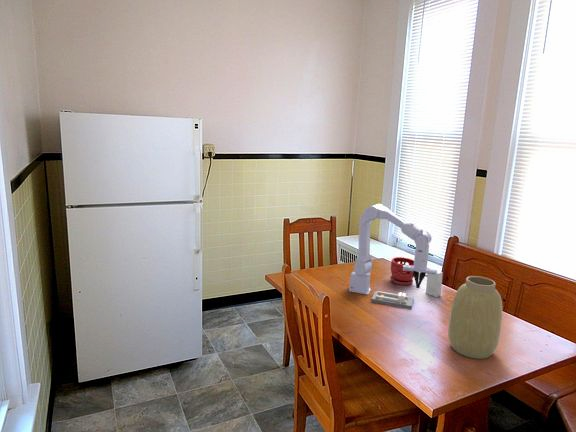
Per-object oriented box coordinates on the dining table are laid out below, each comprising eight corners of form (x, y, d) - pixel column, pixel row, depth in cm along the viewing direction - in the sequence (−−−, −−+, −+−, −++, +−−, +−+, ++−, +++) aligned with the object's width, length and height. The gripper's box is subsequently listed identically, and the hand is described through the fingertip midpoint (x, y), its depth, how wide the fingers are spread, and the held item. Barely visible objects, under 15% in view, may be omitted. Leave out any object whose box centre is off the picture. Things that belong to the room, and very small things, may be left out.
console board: (371, 301, 191) (371, 296, 190) (375, 294, 200) (375, 289, 199) (411, 309, 184) (411, 304, 184) (413, 301, 193) (414, 296, 193)
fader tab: (397, 300, 189) (398, 294, 188) (398, 297, 192) (399, 291, 192) (404, 301, 188) (405, 296, 187) (405, 298, 191) (406, 293, 191)
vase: (503, 350, 152) (515, 282, 146) (485, 368, 140) (496, 294, 134) (458, 333, 164) (467, 269, 158) (437, 347, 152) (446, 279, 146)
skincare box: (441, 295, 201) (443, 272, 199) (436, 297, 198) (438, 273, 196) (429, 291, 206) (432, 268, 203) (424, 293, 203) (427, 270, 201)
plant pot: (389, 285, 212) (391, 263, 210) (389, 276, 225) (391, 255, 222) (415, 288, 209) (418, 266, 207) (413, 279, 222) (416, 258, 219)
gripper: (403, 258, 182) (400, 287, 185) (437, 264, 177) (434, 293, 180) (405, 254, 189) (402, 282, 192) (438, 259, 184) (435, 287, 186)
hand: (417, 287), depth 186 cm, fingers closed
